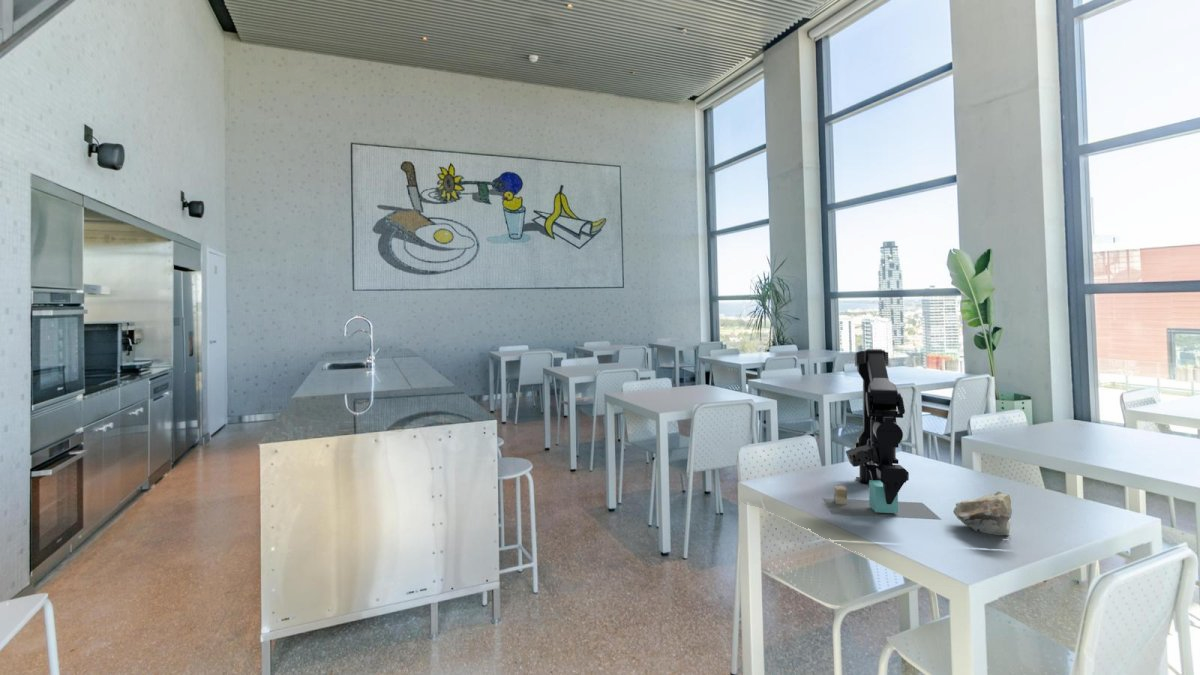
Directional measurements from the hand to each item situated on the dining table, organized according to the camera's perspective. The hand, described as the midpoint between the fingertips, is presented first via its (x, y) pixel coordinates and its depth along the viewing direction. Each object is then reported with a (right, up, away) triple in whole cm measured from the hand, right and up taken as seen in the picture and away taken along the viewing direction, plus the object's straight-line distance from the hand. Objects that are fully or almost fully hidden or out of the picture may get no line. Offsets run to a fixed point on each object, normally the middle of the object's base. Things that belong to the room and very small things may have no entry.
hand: (882, 497), depth 138 cm
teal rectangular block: (0, -3, 0) cm, 3 cm away
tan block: (-8, -3, +7) cm, 11 cm away
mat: (0, -4, +2) cm, 4 cm away
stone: (+16, -4, -13) cm, 21 cm away
